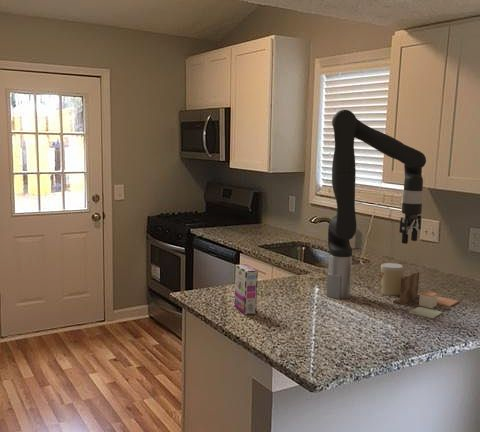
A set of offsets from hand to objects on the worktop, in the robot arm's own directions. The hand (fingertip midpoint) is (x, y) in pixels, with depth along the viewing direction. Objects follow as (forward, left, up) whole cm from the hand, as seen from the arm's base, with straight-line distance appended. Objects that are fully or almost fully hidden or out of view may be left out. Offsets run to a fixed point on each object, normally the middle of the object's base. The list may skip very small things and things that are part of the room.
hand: (409, 242), depth 208 cm
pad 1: (-10, -13, -24) cm, 29 cm away
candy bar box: (-57, +36, -24) cm, 72 cm away
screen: (0, 0, -24) cm, 24 cm away
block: (0, -9, -24) cm, 26 cm away
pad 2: (+9, -12, -24) cm, 28 cm away
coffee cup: (+5, +9, -24) cm, 26 cm away
